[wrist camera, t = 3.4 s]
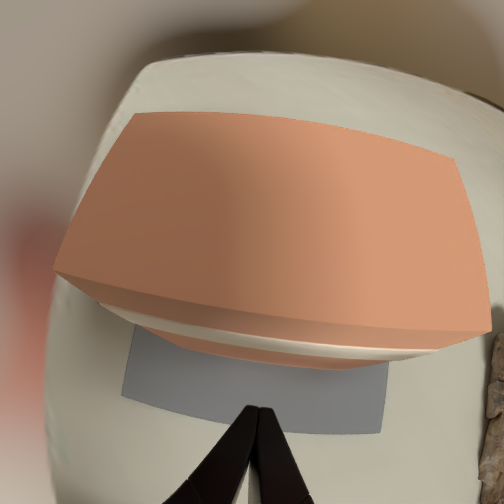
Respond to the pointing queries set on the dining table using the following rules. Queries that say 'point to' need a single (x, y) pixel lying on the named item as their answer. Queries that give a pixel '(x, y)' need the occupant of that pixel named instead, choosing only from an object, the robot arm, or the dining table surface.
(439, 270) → the tall box
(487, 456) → the weathered wood piece
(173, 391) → the mat
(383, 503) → the dining table surface
